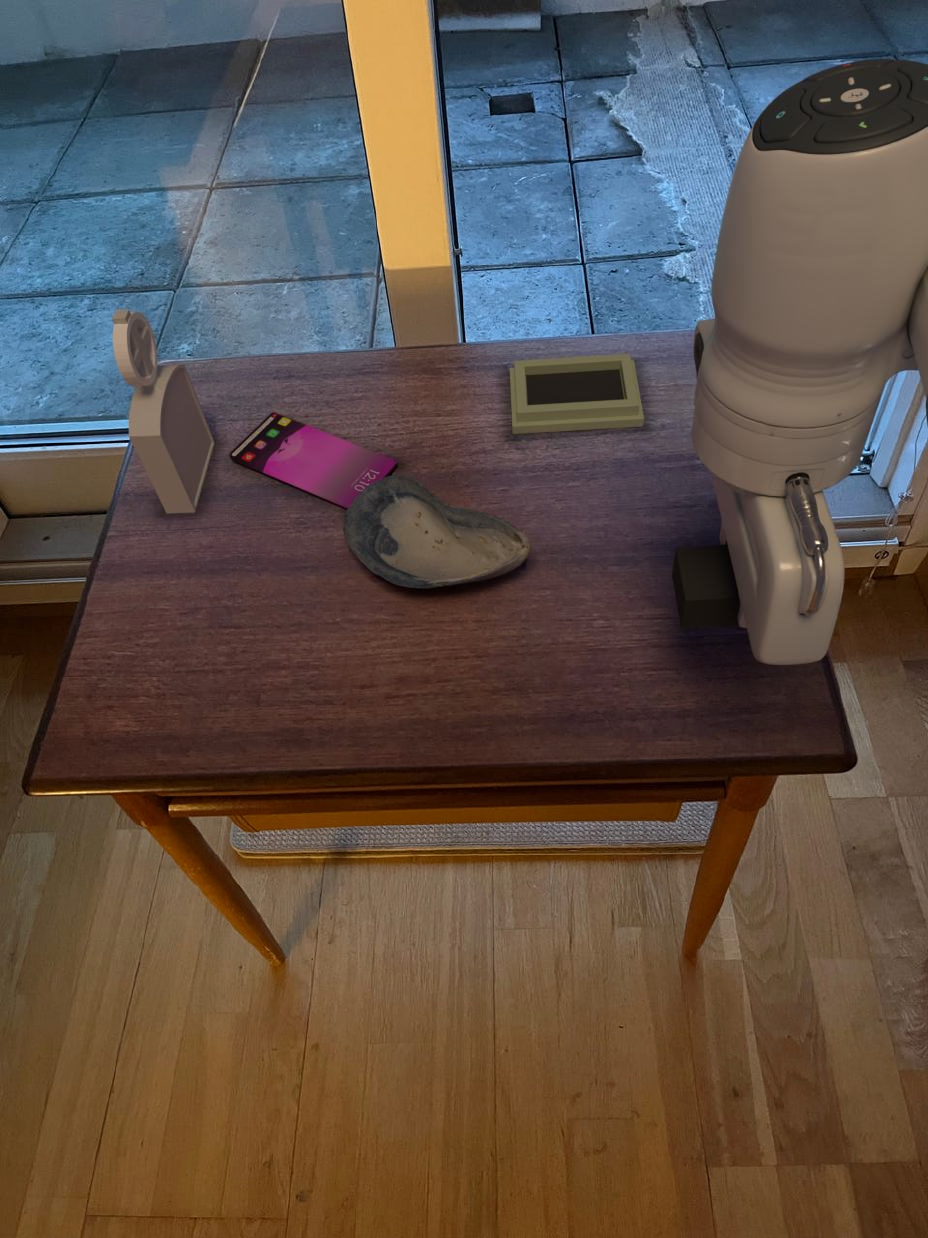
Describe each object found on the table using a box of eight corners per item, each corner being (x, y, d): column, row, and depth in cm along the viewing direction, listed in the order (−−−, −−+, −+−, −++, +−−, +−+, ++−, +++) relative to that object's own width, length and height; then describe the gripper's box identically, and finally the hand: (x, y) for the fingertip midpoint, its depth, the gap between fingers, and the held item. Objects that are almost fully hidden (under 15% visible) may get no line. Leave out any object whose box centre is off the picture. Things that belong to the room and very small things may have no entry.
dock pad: (633, 367, 92) (634, 349, 90) (643, 426, 87) (645, 408, 85) (509, 375, 93) (509, 357, 91) (512, 434, 87) (511, 416, 86)
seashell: (515, 492, 83) (513, 451, 79) (535, 600, 75) (534, 560, 71) (347, 513, 83) (337, 473, 79) (350, 623, 75) (339, 584, 71)
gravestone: (215, 442, 90) (151, 279, 76) (195, 512, 84) (121, 350, 70) (188, 443, 90) (119, 280, 76) (166, 513, 85) (87, 351, 70)
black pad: (793, 569, 61) (802, 539, 59) (807, 621, 58) (818, 592, 56) (671, 576, 62) (675, 546, 59) (680, 628, 59) (685, 600, 57)
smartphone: (276, 417, 91) (273, 410, 91) (400, 463, 86) (399, 456, 85) (229, 462, 88) (227, 455, 87) (356, 514, 82) (354, 507, 82)
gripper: (900, 562, 41) (831, 719, 52) (800, 296, 54) (761, 468, 65) (757, 571, 42) (719, 725, 53) (690, 305, 54) (670, 475, 65)
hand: (741, 582), depth 59 cm, fingers closed on black pad, 4 cm apart
